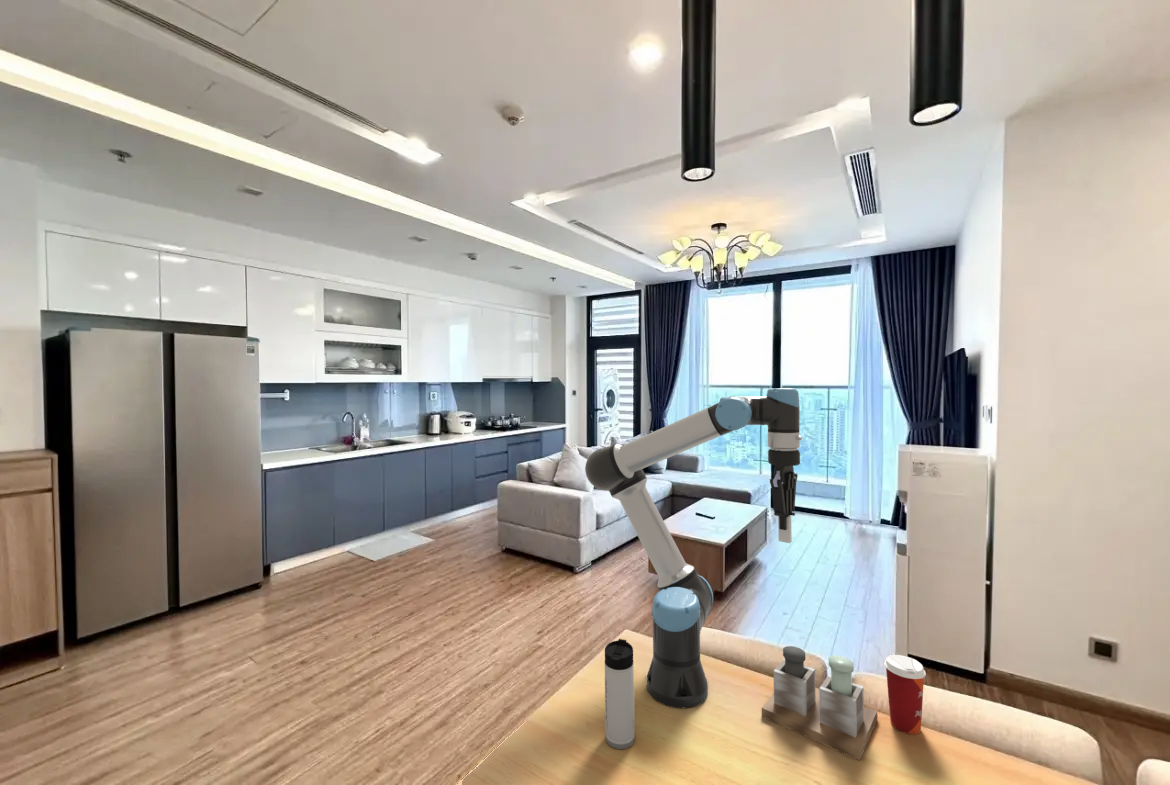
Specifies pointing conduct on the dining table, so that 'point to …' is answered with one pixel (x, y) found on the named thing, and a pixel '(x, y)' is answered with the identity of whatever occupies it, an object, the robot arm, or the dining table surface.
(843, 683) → the sage plug
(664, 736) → the dining table surface
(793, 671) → the gray plug
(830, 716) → the socket board
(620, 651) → the travel mug
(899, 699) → the paper cup
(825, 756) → the dining table surface
